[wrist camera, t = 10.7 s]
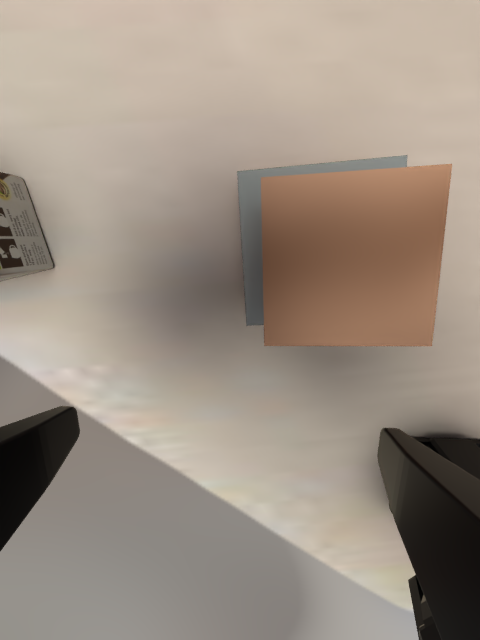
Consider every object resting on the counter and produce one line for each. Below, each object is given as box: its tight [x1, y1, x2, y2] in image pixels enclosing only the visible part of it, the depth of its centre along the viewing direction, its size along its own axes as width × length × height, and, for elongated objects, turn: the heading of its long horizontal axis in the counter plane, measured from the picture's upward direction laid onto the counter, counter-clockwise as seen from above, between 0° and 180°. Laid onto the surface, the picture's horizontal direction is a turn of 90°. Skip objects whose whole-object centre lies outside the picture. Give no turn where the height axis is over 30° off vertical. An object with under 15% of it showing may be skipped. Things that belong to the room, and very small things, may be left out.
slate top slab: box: [237, 155, 407, 326], centre depth 15 cm, size 7×7×3 cm
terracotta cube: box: [261, 164, 452, 346], centre depth 11 cm, size 5×5×5 cm
